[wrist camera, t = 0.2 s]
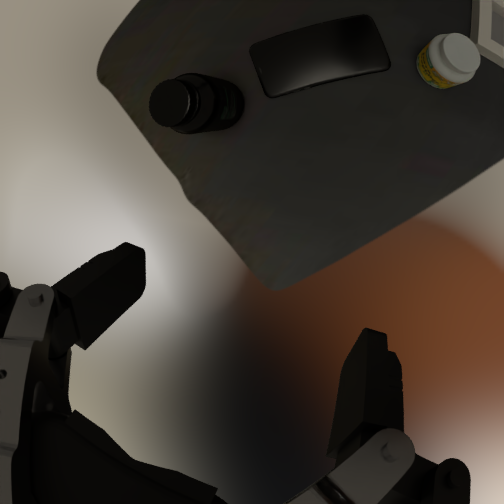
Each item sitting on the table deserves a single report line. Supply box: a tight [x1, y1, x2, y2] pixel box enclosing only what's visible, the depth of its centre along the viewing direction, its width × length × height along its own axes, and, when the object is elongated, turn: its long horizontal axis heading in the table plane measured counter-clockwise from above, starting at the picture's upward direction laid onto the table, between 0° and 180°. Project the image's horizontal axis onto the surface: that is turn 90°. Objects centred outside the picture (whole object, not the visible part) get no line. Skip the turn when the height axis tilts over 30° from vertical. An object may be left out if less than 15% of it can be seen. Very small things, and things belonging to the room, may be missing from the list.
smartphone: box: [249, 15, 391, 98], centre depth 28 cm, size 8×1×16 cm
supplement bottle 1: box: [149, 73, 244, 134], centre depth 29 cm, size 7×7×12 cm
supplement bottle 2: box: [417, 33, 480, 89], centre depth 20 cm, size 5×5×10 cm
